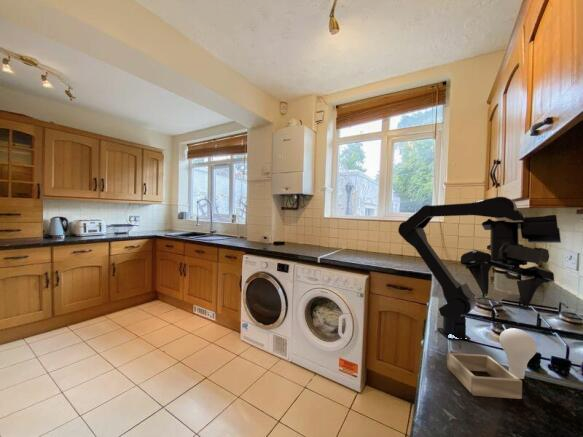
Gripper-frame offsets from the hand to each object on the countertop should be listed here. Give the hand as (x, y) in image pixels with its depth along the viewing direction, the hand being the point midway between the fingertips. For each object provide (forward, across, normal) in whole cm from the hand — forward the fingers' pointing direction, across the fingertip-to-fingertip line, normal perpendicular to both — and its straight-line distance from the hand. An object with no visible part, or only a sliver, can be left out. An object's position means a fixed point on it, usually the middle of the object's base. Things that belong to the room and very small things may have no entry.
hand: (505, 300), depth 59 cm
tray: (+19, -5, 0) cm, 20 cm away
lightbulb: (+16, +3, +2) cm, 17 cm away
